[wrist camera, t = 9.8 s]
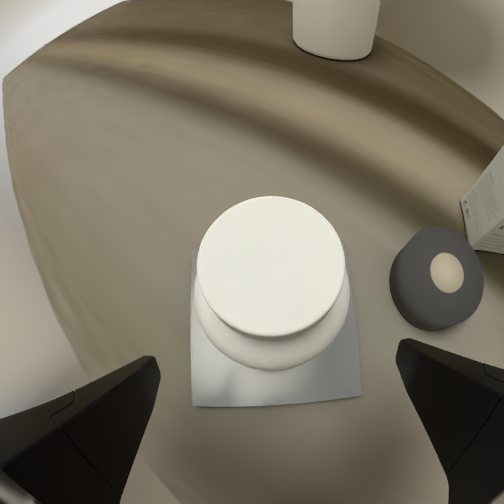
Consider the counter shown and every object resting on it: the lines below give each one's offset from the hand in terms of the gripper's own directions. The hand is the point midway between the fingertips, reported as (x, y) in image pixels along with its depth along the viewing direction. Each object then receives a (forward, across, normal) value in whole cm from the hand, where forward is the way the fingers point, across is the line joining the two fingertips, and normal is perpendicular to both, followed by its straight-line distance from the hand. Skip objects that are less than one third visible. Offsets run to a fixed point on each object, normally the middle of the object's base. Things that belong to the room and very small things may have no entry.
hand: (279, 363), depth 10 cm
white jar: (+39, +13, +23) cm, 47 cm away
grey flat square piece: (+11, 0, -6) cm, 12 cm away
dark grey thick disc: (+12, +14, -4) cm, 19 cm away
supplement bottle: (+10, 0, -5) cm, 11 cm away
